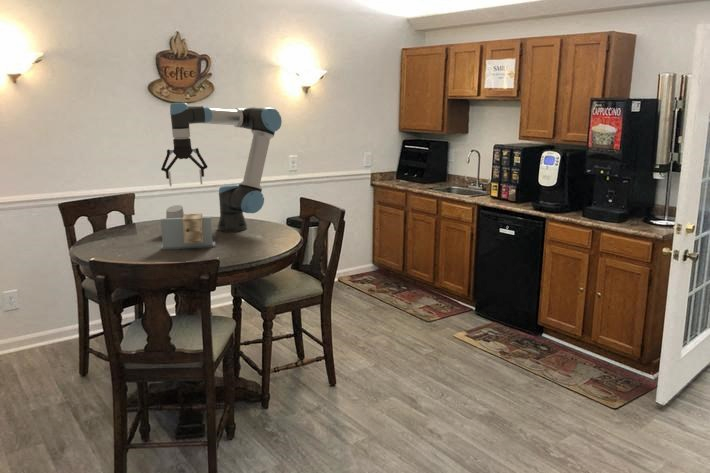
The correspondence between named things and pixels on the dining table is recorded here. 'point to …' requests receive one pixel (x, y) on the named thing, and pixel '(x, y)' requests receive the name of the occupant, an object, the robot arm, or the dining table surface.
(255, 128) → the robot arm
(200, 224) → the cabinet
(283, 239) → the dining table surface
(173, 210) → the smart speaker
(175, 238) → the wall board
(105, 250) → the dining table surface
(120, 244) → the dining table surface
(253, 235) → the dining table surface
